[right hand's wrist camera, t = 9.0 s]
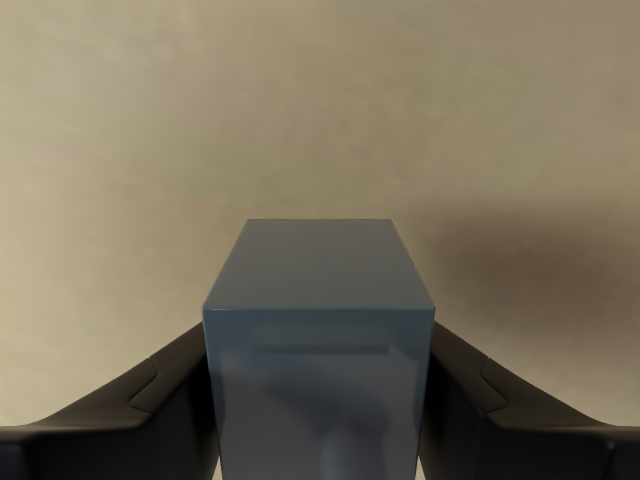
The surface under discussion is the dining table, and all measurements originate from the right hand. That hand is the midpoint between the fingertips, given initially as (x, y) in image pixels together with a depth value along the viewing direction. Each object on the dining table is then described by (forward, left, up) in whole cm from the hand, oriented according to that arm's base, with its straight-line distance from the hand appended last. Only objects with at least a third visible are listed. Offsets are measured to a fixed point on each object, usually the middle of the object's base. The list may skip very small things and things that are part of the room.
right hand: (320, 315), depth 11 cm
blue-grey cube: (0, 0, -1) cm, 1 cm away
